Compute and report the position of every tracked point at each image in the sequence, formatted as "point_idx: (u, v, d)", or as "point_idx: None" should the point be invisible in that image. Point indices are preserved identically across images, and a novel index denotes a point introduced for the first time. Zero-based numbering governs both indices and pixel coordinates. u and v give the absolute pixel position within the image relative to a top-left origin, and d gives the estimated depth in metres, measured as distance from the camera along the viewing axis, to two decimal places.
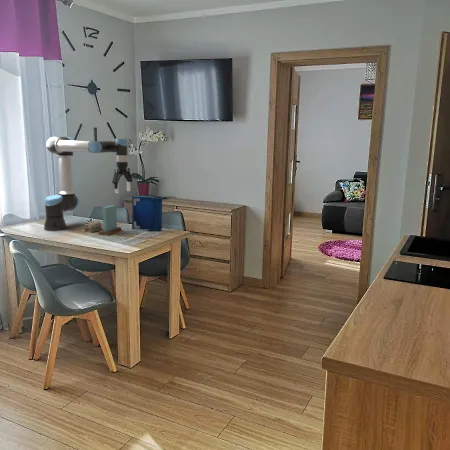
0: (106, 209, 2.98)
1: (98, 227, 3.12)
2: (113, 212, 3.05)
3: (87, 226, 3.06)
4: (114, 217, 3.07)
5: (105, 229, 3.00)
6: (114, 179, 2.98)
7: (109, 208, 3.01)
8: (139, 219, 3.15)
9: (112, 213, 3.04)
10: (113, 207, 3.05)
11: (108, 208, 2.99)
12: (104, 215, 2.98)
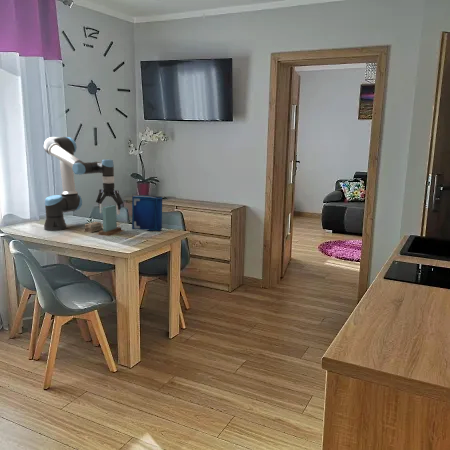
0: (106, 209, 2.98)
1: (98, 227, 3.12)
2: (113, 212, 3.05)
3: (87, 226, 3.06)
4: (114, 217, 3.07)
5: (105, 229, 3.00)
6: None
7: (109, 208, 3.01)
8: (139, 219, 3.15)
9: (112, 213, 3.04)
10: (113, 207, 3.05)
11: (108, 208, 2.99)
12: (104, 215, 2.98)
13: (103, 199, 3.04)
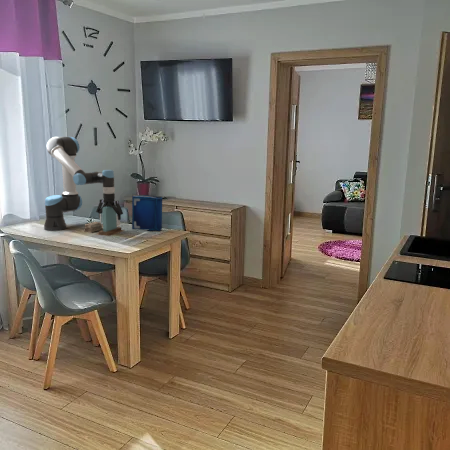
0: (106, 209, 2.98)
1: (98, 227, 3.12)
2: (113, 212, 3.05)
3: (87, 226, 3.06)
4: (114, 217, 3.07)
5: (105, 229, 3.00)
6: None
7: (109, 208, 3.01)
8: (139, 219, 3.15)
9: (112, 213, 3.04)
10: None
11: (108, 208, 2.99)
12: (104, 215, 2.98)
13: None
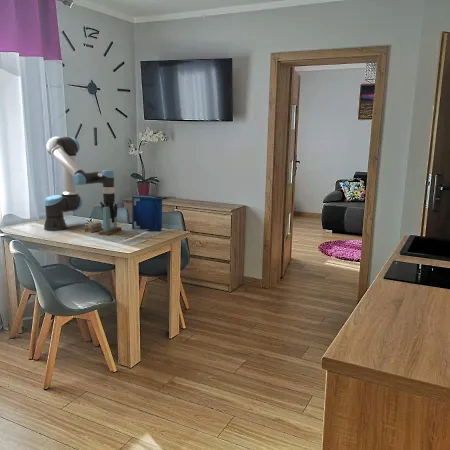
0: (106, 209, 2.98)
1: (98, 227, 3.12)
2: None
3: (87, 226, 3.06)
4: None
5: (105, 229, 3.00)
6: None
7: (109, 208, 3.01)
8: (139, 219, 3.15)
9: None
10: None
11: (108, 208, 2.99)
12: (104, 215, 2.98)
13: None
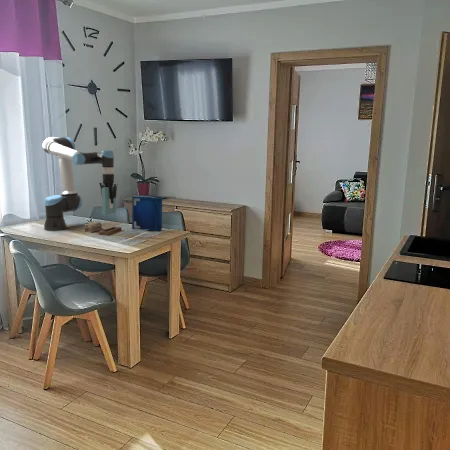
0: (105, 190, 2.95)
1: (98, 227, 3.12)
2: None
3: (87, 226, 3.06)
4: None
5: (104, 210, 2.97)
6: None
7: (108, 189, 2.98)
8: (139, 219, 3.15)
9: None
10: None
11: (107, 189, 2.97)
12: (103, 196, 2.95)
13: None
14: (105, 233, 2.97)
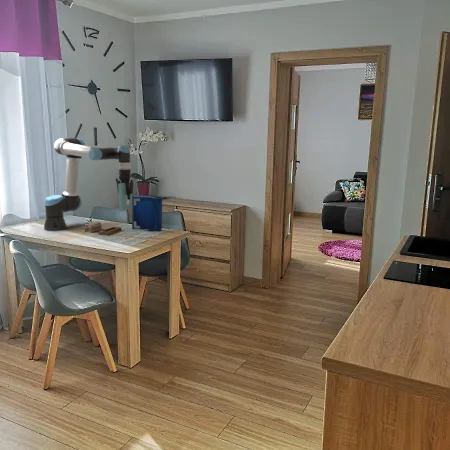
0: (122, 185, 2.90)
1: (98, 227, 3.12)
2: None
3: (87, 226, 3.06)
4: (130, 194, 2.99)
5: (120, 206, 2.92)
6: None
7: None
8: (139, 219, 3.15)
9: None
10: (129, 184, 2.97)
11: (124, 184, 2.91)
12: (120, 191, 2.90)
13: None
14: (105, 233, 2.97)
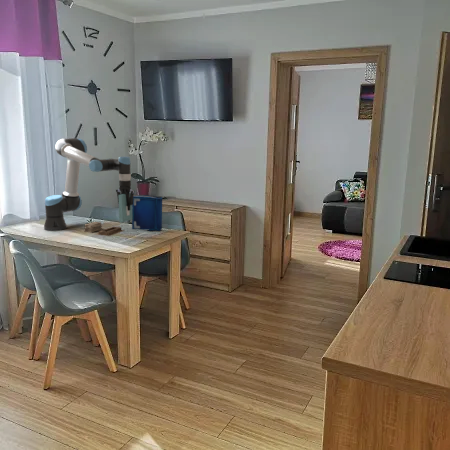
0: (122, 196, 2.91)
1: (98, 227, 3.12)
2: None
3: (87, 226, 3.06)
4: (130, 205, 3.01)
5: (120, 217, 2.93)
6: None
7: (125, 195, 2.94)
8: (139, 219, 3.15)
9: None
10: (129, 195, 2.98)
11: (124, 195, 2.93)
12: (120, 203, 2.91)
13: None
14: (105, 233, 2.97)
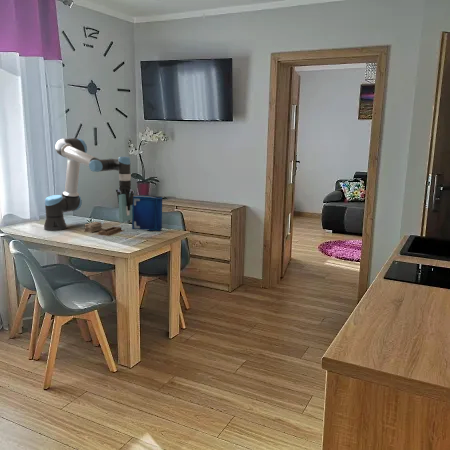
0: (122, 196, 2.91)
1: (98, 227, 3.12)
2: None
3: (87, 226, 3.06)
4: (130, 205, 3.01)
5: (120, 217, 2.93)
6: None
7: (125, 195, 2.94)
8: (139, 219, 3.15)
9: None
10: (129, 195, 2.98)
11: (124, 195, 2.93)
12: (120, 203, 2.91)
13: None
14: (105, 233, 2.97)
